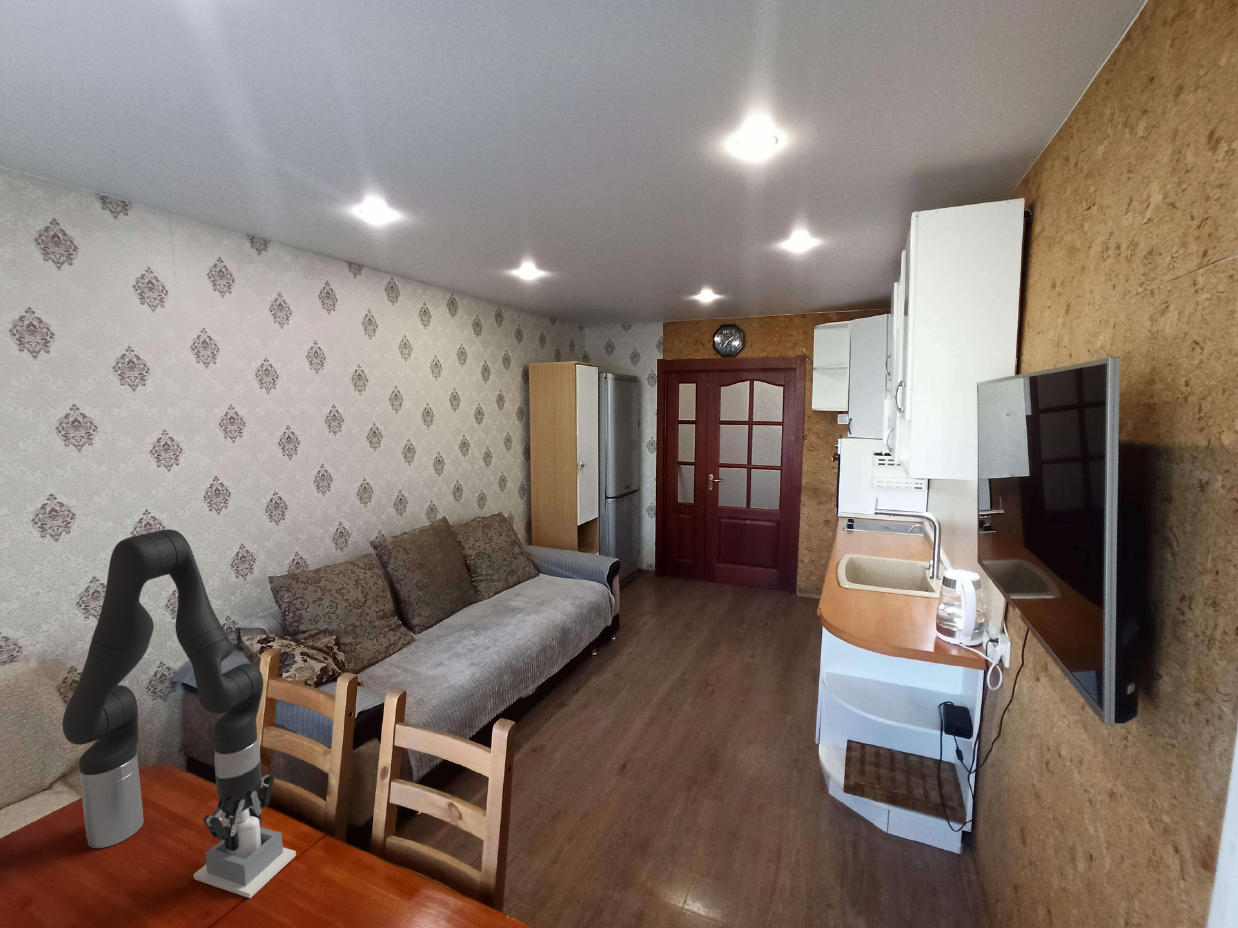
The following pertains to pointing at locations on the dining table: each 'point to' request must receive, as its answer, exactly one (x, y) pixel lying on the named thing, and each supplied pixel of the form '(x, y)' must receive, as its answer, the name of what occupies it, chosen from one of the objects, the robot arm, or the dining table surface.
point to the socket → (245, 865)
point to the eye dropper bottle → (247, 835)
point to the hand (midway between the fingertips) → (243, 839)
